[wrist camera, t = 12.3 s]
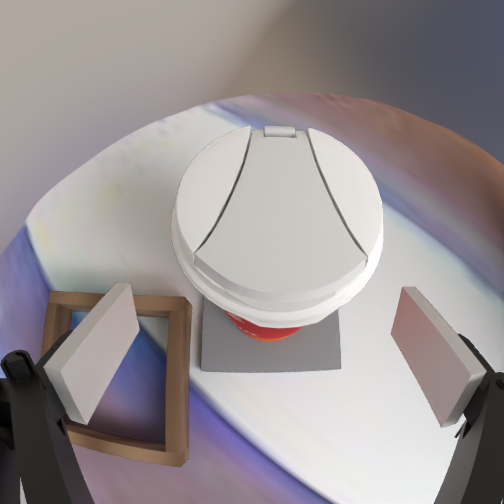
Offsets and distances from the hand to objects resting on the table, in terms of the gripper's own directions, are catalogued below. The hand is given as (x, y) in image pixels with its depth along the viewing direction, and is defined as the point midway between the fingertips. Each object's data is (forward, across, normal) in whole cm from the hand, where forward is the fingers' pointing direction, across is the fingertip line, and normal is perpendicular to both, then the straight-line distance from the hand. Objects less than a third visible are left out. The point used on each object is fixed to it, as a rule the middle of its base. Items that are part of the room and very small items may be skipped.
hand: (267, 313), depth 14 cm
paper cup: (+8, 0, -4) cm, 9 cm away
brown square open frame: (+4, -11, -9) cm, 15 cm away
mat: (+8, 0, -4) cm, 9 cm away
